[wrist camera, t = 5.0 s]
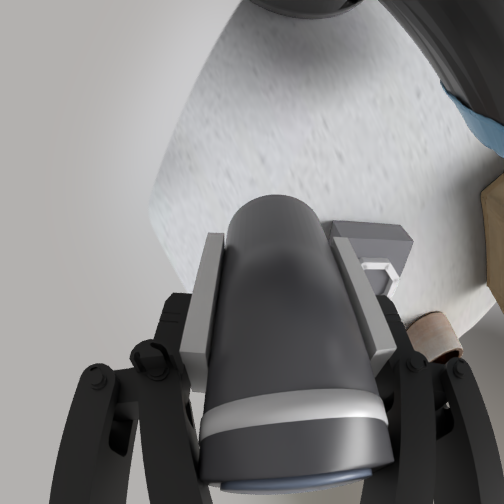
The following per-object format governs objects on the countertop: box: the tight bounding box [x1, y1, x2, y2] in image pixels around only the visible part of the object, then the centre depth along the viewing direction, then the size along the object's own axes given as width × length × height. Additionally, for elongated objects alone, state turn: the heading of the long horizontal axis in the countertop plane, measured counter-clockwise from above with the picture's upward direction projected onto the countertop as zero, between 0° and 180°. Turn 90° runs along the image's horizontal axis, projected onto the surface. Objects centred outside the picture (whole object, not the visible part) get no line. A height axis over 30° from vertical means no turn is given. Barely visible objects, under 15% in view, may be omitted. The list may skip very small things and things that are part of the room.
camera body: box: [329, 221, 414, 300], centre depth 34 cm, size 14×10×7 cm
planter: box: [406, 312, 463, 364], centre depth 42 cm, size 11×11×10 cm
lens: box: [198, 195, 394, 495], centre depth 10 cm, size 5×5×12 cm
